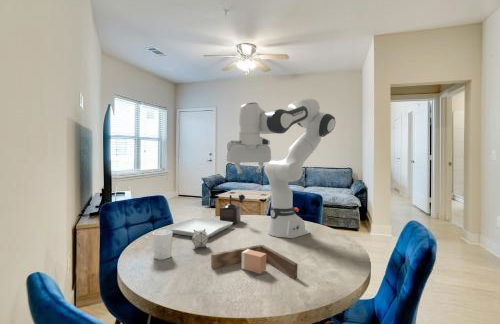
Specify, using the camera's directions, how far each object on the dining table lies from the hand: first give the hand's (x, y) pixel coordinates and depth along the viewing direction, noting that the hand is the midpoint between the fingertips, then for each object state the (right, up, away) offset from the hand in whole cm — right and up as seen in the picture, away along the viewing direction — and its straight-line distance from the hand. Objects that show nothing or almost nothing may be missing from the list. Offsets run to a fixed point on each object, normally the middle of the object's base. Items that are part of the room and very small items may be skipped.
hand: (249, 173), depth 119 cm
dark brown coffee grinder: (-9, -32, +49) cm, 60 cm away
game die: (-22, -34, +5) cm, 41 cm away
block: (+2, -34, -18) cm, 39 cm away
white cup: (-35, -34, -6) cm, 49 cm away
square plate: (-27, -33, +31) cm, 53 cm away
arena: (+1, -35, -20) cm, 40 cm away
